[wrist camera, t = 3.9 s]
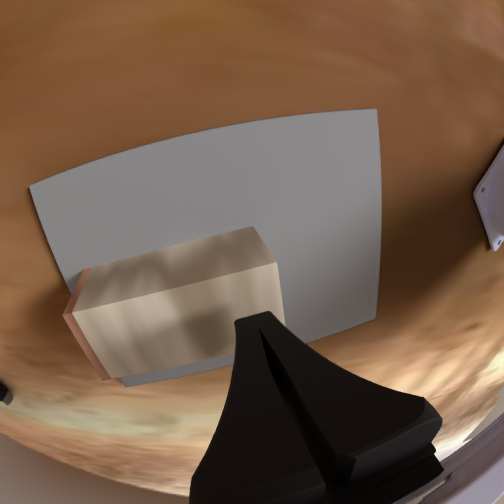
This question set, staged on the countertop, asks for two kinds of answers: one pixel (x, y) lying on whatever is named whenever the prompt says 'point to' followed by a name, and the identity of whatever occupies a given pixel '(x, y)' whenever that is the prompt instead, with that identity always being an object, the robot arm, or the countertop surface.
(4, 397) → the knife
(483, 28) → the countertop surface
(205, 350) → the birch block
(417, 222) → the countertop surface
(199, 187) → the rubber mat
